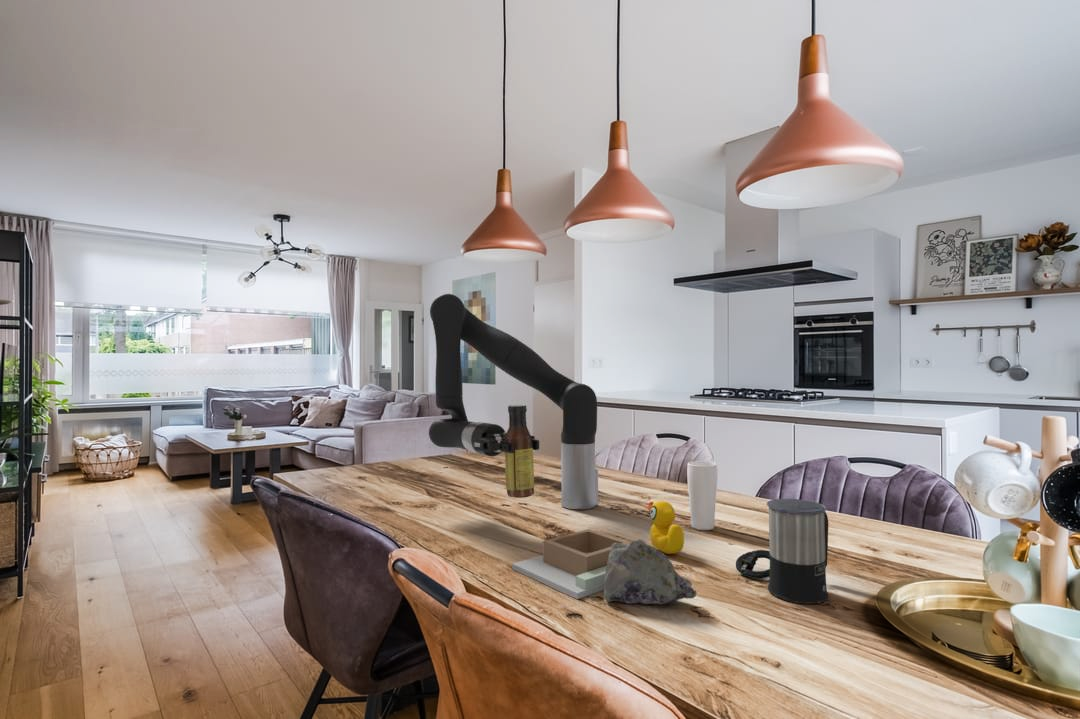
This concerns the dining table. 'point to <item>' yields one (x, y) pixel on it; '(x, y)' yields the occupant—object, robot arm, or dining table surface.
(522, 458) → the sauce bottle
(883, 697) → the dining table surface
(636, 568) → the mineral rock
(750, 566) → the milk frother
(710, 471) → the white tumbler
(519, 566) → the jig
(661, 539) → the duckling
